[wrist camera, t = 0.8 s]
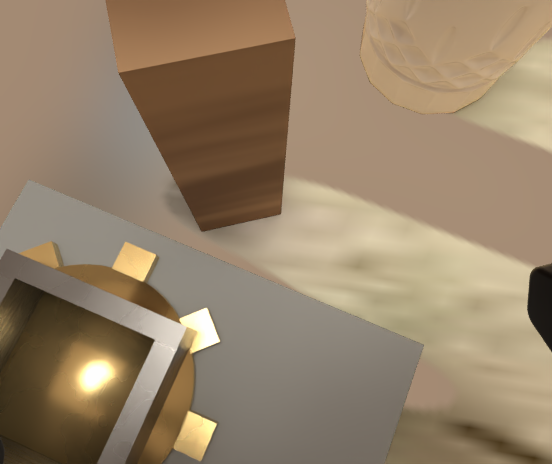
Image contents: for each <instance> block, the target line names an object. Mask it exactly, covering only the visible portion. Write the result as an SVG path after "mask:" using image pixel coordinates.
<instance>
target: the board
mask: <svg viewBox="0 0 552 464" xmlns="http://www.w3.org/2000/svg"><path fill="white" fill-rule="evenodd" d="M50 241H52V242H54V243H56V244H58V248H59V251H60V254H61V257H62V261H63V264H64V266H68V265H79V264H91V265H102V266H107V267H113V265H114V263H115V261H116V259H117V257H118V255H119V253H120V251H121V249H122V247H123V245H124V243H125V242H128V243H130V244H132V245H135V246H137V247H139V248H142V249H144V250H147V251H149V252H151V253H154V254H156V255H157V256H158V257H159V260H158V262H157V264H156V266H155V268H154V270H153V272H152V274H151V276H150V278H149V280H148V282H147V283H148V284H149V285H150V286H152V287H153V288H155V289H156V290H157V291H158V292H159V293H160V294H162V295H163V296H164V297H165V298H166V299H167V300H168V302H169V303H170V304H171V305H172V306H173V308H174V309H175V310H176V312H177V313H178V315H179V317H180V318H183V317H185V316H188V315H190V314H193V313H195V312H198V311H200V310H202V309H205V308H208V309H209V311H210V314H211V317H212V319H213V322H214V325H215V327H216V330H217V333H218V336H219V338H220V341H221V342H220V343H217V344H215V345H212V346H210V347H207V348H205V349H203V350H200V351H198V352H195V353H193V354H194V360H195V379H196V381H195V391H194V398H193V403H192V407H191V410H193V411H195V412H198V413H200V414H202V415H204V416H207V417H209V418H211V419H213V420H216V421H218V424H217V426H216V429H215V431H214V433H213V436H212V438H211V440H210V443H209V445H208V448H207V450H206V452H205V455H204V457H203V459H202V460H201V461H199V460H197V459H194V458H192V457H190V456H188V455H186V454H184V453H181V452H179V451H177V450H175V449H172V451H171V452H170V454H169V455H168V457H167V458H166V459H165V460H164V461H163V463H162V464H384V463H385V460H386V457H387V454H388V451H389V448H390V445H391V442H392V439H393V436H394V433H395V430H396V427H397V424H398V421H399V418H400V415H401V412H402V409H403V406H404V403H405V400H406V397H407V394H408V391H409V388H410V385H411V382H412V379H413V376H414V373H415V370H416V367H417V364H418V361H419V358H420V355H421V352H422V349H423V346H424V345H423V344H420V343H418V342H416V341H413V340H411V339H408V338H406V337H404V336H401V335H399V334H396V333H394V332H392V331H389V330H387V329H385V328H382V327H380V326H377V325H375V324H373V323H370V322H368V321H365V320H363V319H361V318H358V317H356V316H353V315H351V314H349V313H346V312H344V311H342V310H339V309H337V308H334V307H332V306H330V305H327V304H325V303H322V302H320V301H318V300H315V299H313V298H310V297H308V296H306V295H303V294H301V293H299V292H296V291H293V290H291V289H289V288H287V287H284V286H282V285H279V284H277V283H275V282H272V281H270V280H268V279H265V278H263V277H260V276H258V275H256V274H253V273H251V272H248V271H246V270H243V269H241V268H239V267H236V266H234V265H232V264H229V263H227V262H225V261H222V260H220V259H217V258H215V257H213V256H210V255H208V254H205V253H203V252H201V251H198V250H196V249H193V248H191V247H189V246H186V245H184V244H181V243H179V242H177V241H174V240H172V239H170V238H167V237H165V236H162V235H160V234H158V233H155V232H153V231H150V230H148V229H146V228H143V227H141V226H138V225H136V224H134V223H131V222H129V221H126V220H124V219H122V218H119V217H117V216H115V215H112V214H110V213H108V212H105V211H103V210H100V209H98V208H95V207H93V206H91V205H88V204H86V203H84V202H81V201H78V200H76V199H74V198H72V197H69V196H67V195H65V194H62V193H60V192H57V191H55V190H53V189H50V188H48V187H45V186H43V185H41V184H38V183H36V182H33V181H31V180H28V182H27V184H26V185H25V187H24V189H23V190H22V192H21V194H20V195H19V197H18V199H17V201H16V202H15V204H14V206H13V207H12V209H11V211H10V213H9V214H8V216H7V218H6V219H5V221H4V223H3V225H2V226H1V228H0V259H1V257H2V256H3V254H4V252H5V250H6V249H9V250H11V251H14V252H16V253H21V252H23V251H26V250H29V249H31V248H34V247H37V246H39V245H42V244H45V243H47V242H50Z"/></svg>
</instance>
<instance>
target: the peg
mask: <svg viewBox="0 0 552 464" xmlns="http://www.w3.org/2000/svg"><path fill="white" fill-rule="evenodd" d="M106 5H107V11H108V16H109V22H110V27H111V33H112V39H113V44H114V50H115V56H116V62H117V67H118V73H119V75H120V77H121V79H122V81H123V82H124V84H125V86H126V88H127V90H128V92H129V94H130V96H131V98H132V100H133V102H134V103H135V105H136V107H137V109H138V111H139V113H140V115H141V117H142V119H143V121H144V122H145V124H146V126H147V128H148V130H149V132H150V134H151V136H152V138H153V140H154V142H155V143H156V145H157V147H158V149H159V151H160V153H161V155H162V157H163V158H164V161H165V162H166V164H167V166H168V168H169V170H170V172H171V174H172V176H173V178H174V180H175V182H176V183H177V185H178V187H179V189H180V191H181V193H182V195H183V197H184V199H185V201H186V203H187V204H188V206H189V208H190V210H191V212H192V214H193V216H194V218H195V220H196V222H197V223H198V225H199V227H200V229H201V231H207V230H211V229H216V228H220V227H225V226H229V225H234V224H238V223H243V222H247V221H252V220H256V219H261V218H265V217H270V216H274V215H279V214H281V205H282V193H283V181H284V169H285V157H286V156H285V155H286V145H287V133H288V121H289V109H290V98H291V97H290V96H291V86H292V74H293V62H294V50H295V34H294V31H293V27H292V24H291V20H290V17H289V13H288V10H287V6H286V3H285V0H106Z"/></svg>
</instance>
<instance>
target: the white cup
mask: <svg viewBox="0 0 552 464" xmlns="http://www.w3.org/2000/svg"><path fill="white" fill-rule="evenodd" d="M366 7H367V14H366V18H365V23H364V27H363V34H362V41H361V48H360V58H361V61H362V63H363V66H364V68H365V71H366V73H367V76H368V79H369V81H370V83H371V84H372V85H373V86H374V87H375V88H376V89H377V90H379V91H380V92H381V93H382V94H383V95H384V96H385V97H386V98H387V99H388V100H389V101H390V102H391V103H393V104H395V105H398V106H401V107H403V108H406V109H409V110H412V111H414V112H417V113H420V114H438V113H454V112H456V111H458V110H460V109H461V108H463V107H465V106H467V105H469V104H471V103H473V102H475V101H476V100H478V99H480V98H481V97H482V96H483V95H484V94H485V93H486V92H487V91H488V89H489V88H490V87H491V86H492V85H493V84H494V83H495V82H496V81H497V80H498V78H499V77H500V76H501V75H502V74H503V73H505V72H506V71H507V70H508V69H509V68H511V67H512V66H513V65H514V64H515V63H516V62H518V61H519V60H520V59H521V58H522V57H523V55H524V54H525V53H526V52H527V51H528V50H529V49H530V48H531V47H532V46H533V45H534V44H535V43H536V42H537V41H538V40H539V39H540V38H541V37H542V36H543V35H544V34H545V33H546V32H547V31H548V30H549V29H550V28H551V27H552V0H367V1H366Z"/></svg>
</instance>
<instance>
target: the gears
mask: <svg viewBox="0 0 552 464" xmlns="http://www.w3.org/2000/svg"><path fill="white" fill-rule="evenodd" d="M158 260H159V257H158V256H157V255H156V254H154V253H151V252H149V251H147V250H144V249H142V248H139V247H137V246H135V245H132V244H130V243H128V242H125V243H124V245H123V247H122V249H121V251H120V253H119V255H118V257H117V259H116V261H115V263H114V265H113V267H107V266H102V265H91V264H79V265H68V266H64V264H63V261H62V257H61V254H60V251H59V248H58V244H56V243H54V242H52V241H50V242H47V243H45V244H42V245H39V246H37V247H34V248H31V249H29V250H26V251H23V252H21V253H16V252H14V251H11V250H9V249H6V250H5V252H4V254H3V256H2V257H1V259H0V438H1V440H2V442H3V445H4V452H5V456H4V464H162V463H163V461H164V460H165V459H166V458H167V457H168V455H169V454H170V452H171V451H172V449H175V450H177V451H179V452H181V453H184V454H186V455H188V456H190V457H192V458H194V459H197V460H199V461H201V460H202V459H203V457H204V455H205V452H206V450H207V448H208V445H209V443H210V440H211V438H212V436H213V433H214V431H215V429H216V426H217V424H218V421H216V420H213V419H211V418H209V417H207V416H204V415H202V414H200V413H198V412H195V411H193V410H191V407H192V403H193V398H194V391H195V381H196V379H195V360H194V354H193V353H195V352H198V351H200V350H203V349H205V348H207V347H210V346H212V345H215V344H217V343H220V342H221V341H220V338H219V336H218V333H217V330H216V327H215V325H214V322H213V319H212V317H211V314H210V311H209V309H208V308H205V309H202V310H200V311H198V312H195V313H193V314H190V315H188V316H185V317H183V318H180V317H179V315H178V313H177V312H176V310H175V309H174V308H173V306H172V305H171V304H170V303H169V302H168V300H167V299H166V298H165V297H164V296H163V295H162V294H160V293H159V292H158V291H157V290H156V289H155V288H153V287H152V286H150V285H149V284H148V283H147V282H148V280H149V278H150V276H151V274H152V272H153V270H154V268H155V266H156V264H157V262H158Z"/></svg>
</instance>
